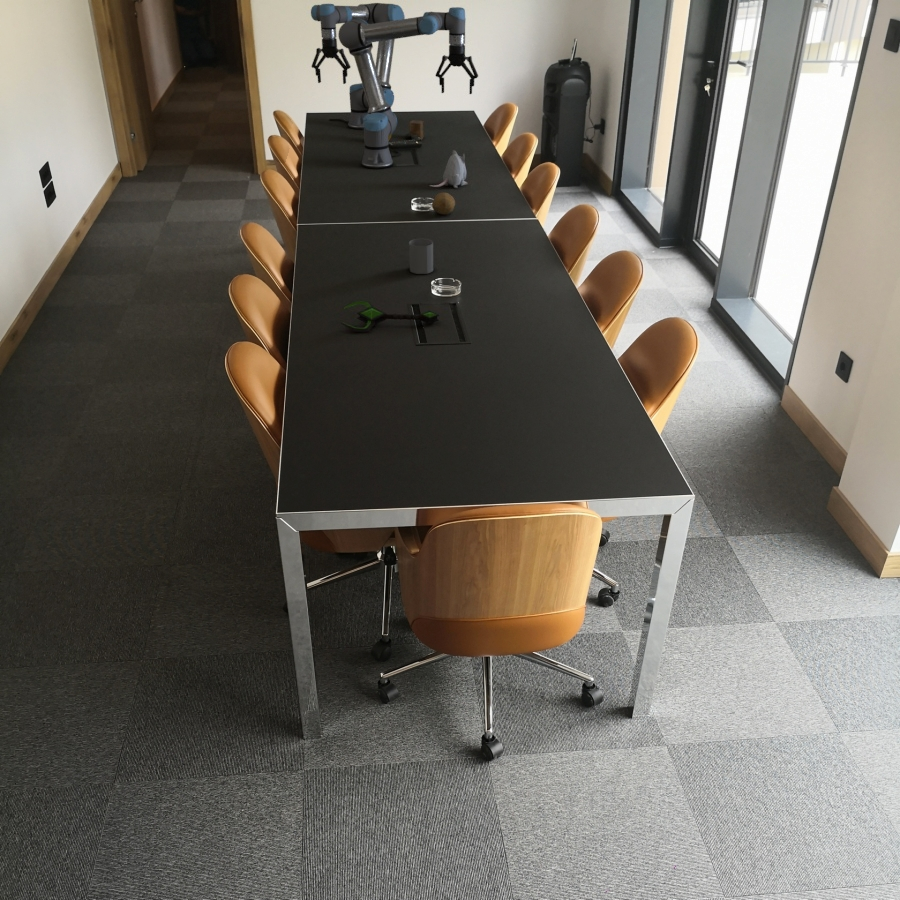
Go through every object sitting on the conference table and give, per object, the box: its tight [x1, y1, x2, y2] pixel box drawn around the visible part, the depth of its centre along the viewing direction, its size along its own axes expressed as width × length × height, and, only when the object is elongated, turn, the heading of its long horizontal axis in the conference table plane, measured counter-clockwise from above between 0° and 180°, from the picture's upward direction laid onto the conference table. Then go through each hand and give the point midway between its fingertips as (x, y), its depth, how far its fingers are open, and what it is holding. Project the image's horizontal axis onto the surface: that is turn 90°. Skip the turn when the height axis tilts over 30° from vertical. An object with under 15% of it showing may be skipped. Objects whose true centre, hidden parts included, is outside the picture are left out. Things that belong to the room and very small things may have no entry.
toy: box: [428, 149, 468, 189], centre depth 390 cm, size 9×24×15 cm, turn 137°
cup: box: [408, 237, 434, 275], centre depth 305 cm, size 8×8×10 cm
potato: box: [431, 192, 456, 216], centre depth 360 cm, size 10×14×8 cm
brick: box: [409, 119, 424, 141], centre depth 472 cm, size 6×7×9 cm
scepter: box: [341, 300, 440, 333], centre depth 268 cm, size 6×13×30 cm
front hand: (456, 93), depth 415 cm, fingers open, 13 cm apart
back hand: (332, 83), depth 451 cm, fingers open, 13 cm apart
